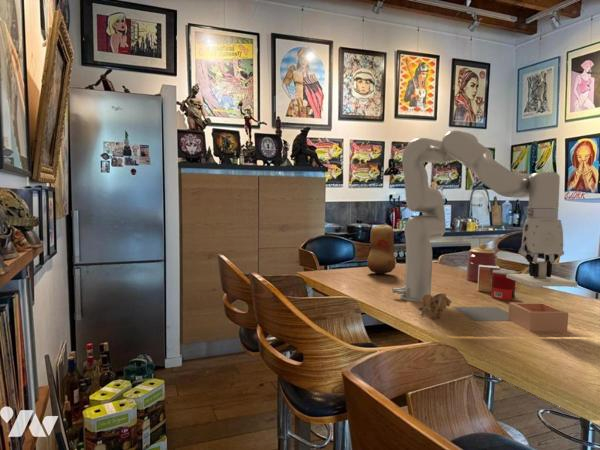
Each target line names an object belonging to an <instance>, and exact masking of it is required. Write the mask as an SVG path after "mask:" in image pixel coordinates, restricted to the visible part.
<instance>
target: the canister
mask: <svg viewBox="0 0 600 450" xmlns="http://www.w3.org/2000/svg"><path fill="white" fill-rule="evenodd" d="M495 253H496V251H495V250H494V249H493V248H489V247H486V244H485V243H481V244H479V247H472V248H471V249H469V253H467V257H468V259H467V261H466V263H467V264H466V280H467V281H469V282H474V283H478V270H479V265H486V266H498V264H497V259H498V256H497V255H495Z"/></svg>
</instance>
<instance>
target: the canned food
mask: <svg viewBox="0 0 600 450" xmlns="http://www.w3.org/2000/svg"><path fill="white" fill-rule="evenodd" d="M506 274H517V272H515V271H512V270H508V269H506V270H505V269H500V270H493V272H492V291H491V292H490V293H491V295H490V296H491V299H493V300H494V299H495V300H498V301H504V302H505V301H506V302H512V301H515V296H516V282H517V281H515V280H512V279H509V278H506Z"/></svg>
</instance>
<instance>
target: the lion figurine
mask: <svg viewBox="0 0 600 450" xmlns="http://www.w3.org/2000/svg"><path fill="white" fill-rule="evenodd" d="M431 295H432V294H431ZM431 295H428V294H427V295H425V296H424V297H423V300H422V302H421V303H422V304H421V305H422V306H421V307H419V308H418V310H419V311H421V316H425V311H426V312H430V313H429V315H430V321H431V322H432V320H434V319H435V316H434V314H435V313H436V319H440V316H441V313H442V312H443V311H444V310H446V309H447V308H449V307H451V306H450V305H451V304H452V300H450V299H449V298H448V297H447V294H446V293H438V294H437V293H436V294H435V295H433V297H432V296H431Z"/></svg>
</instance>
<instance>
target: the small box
mask: <svg viewBox="0 0 600 450" xmlns="http://www.w3.org/2000/svg"><path fill="white" fill-rule="evenodd" d="M493 270H501V267H500V266H499V265H497V266H486V265H479V270H478V282H477V291H478V292H486V293H491V291H492V272H493Z"/></svg>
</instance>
